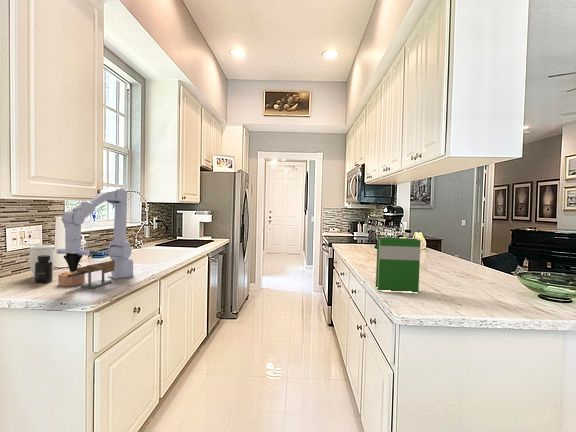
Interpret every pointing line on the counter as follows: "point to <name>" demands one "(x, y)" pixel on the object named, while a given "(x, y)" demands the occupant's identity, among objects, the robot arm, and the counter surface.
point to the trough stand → (95, 282)
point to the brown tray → (95, 268)
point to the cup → (70, 279)
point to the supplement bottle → (43, 269)
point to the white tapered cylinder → (40, 250)
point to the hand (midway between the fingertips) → (73, 271)
